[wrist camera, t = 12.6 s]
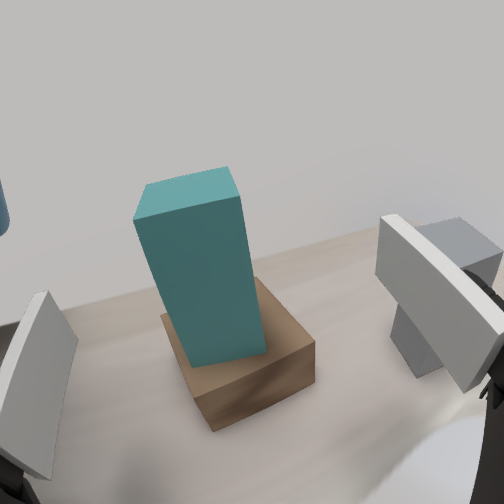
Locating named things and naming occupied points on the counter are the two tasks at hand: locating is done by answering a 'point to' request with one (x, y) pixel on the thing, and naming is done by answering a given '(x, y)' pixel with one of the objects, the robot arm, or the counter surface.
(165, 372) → the counter surface
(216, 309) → the teal pillar
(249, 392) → the walnut block
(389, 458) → the counter surface
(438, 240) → the grey pillar
